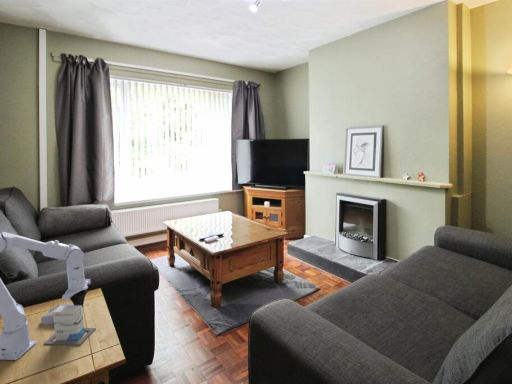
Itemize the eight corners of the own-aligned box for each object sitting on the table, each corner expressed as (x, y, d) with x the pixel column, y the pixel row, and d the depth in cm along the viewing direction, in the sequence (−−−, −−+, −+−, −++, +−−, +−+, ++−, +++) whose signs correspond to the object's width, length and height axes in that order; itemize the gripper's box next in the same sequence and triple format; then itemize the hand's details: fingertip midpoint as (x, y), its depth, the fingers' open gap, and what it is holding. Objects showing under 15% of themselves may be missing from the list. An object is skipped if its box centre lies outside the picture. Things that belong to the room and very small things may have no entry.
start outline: (80, 345, 110) (80, 344, 110) (43, 344, 111) (43, 343, 111) (95, 329, 120) (95, 328, 120) (62, 328, 120) (61, 327, 120)
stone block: (39, 329, 123) (63, 324, 123) (36, 318, 123) (59, 313, 122) (58, 314, 135) (80, 310, 135) (55, 304, 134) (77, 300, 134)
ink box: (85, 332, 118) (82, 304, 116) (78, 340, 113) (75, 311, 111) (63, 332, 118) (60, 305, 116) (55, 341, 113) (51, 312, 111)
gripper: (73, 285, 111) (77, 319, 113) (96, 269, 125) (99, 299, 127) (55, 284, 111) (59, 318, 113) (80, 268, 126) (83, 299, 128)
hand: (79, 308), depth 120 cm, fingers closed
